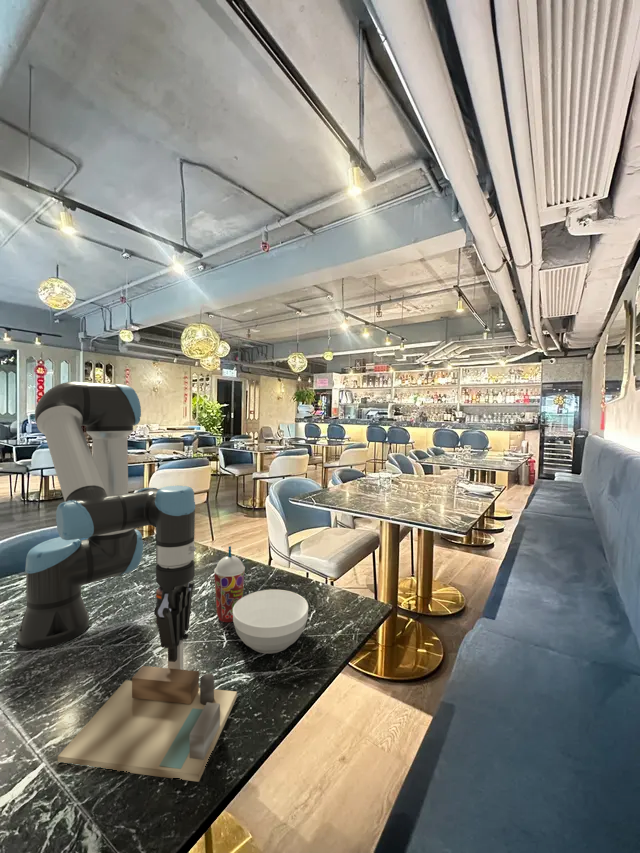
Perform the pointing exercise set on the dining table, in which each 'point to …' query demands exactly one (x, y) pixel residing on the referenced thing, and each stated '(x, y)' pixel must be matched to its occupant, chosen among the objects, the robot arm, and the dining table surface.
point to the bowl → (270, 619)
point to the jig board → (153, 733)
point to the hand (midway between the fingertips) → (175, 672)
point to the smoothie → (228, 585)
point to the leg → (165, 684)
